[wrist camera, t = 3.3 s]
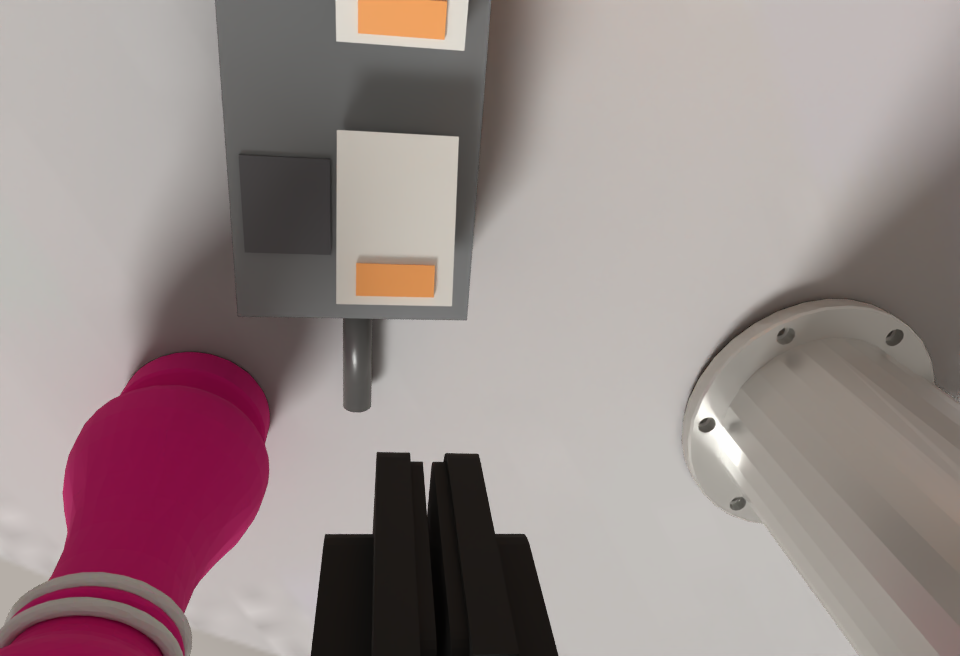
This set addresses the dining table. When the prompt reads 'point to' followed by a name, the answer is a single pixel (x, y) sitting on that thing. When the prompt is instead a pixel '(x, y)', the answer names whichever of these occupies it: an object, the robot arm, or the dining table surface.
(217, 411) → the pepper mill
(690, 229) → the dining table surface
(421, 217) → the plate
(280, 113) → the power strip
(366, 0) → the block
